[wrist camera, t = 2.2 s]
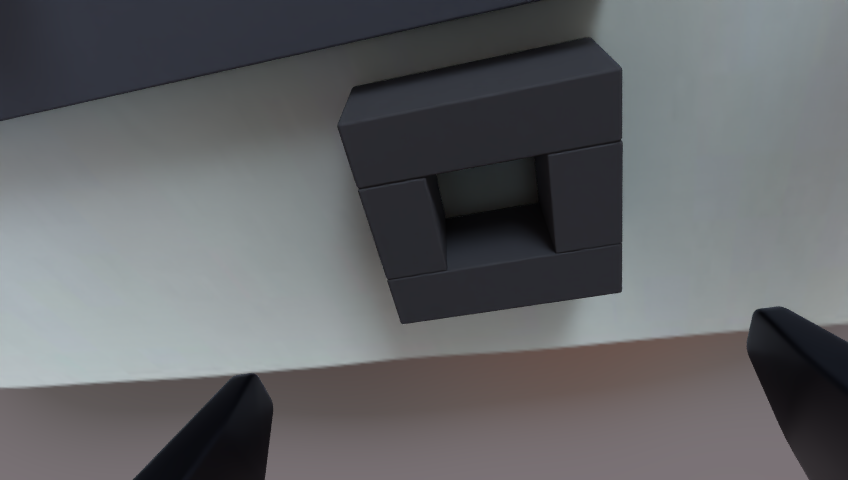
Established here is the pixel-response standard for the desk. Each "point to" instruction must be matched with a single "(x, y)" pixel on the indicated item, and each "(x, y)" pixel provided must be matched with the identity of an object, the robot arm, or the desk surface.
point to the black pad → (483, 145)
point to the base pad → (180, 40)
